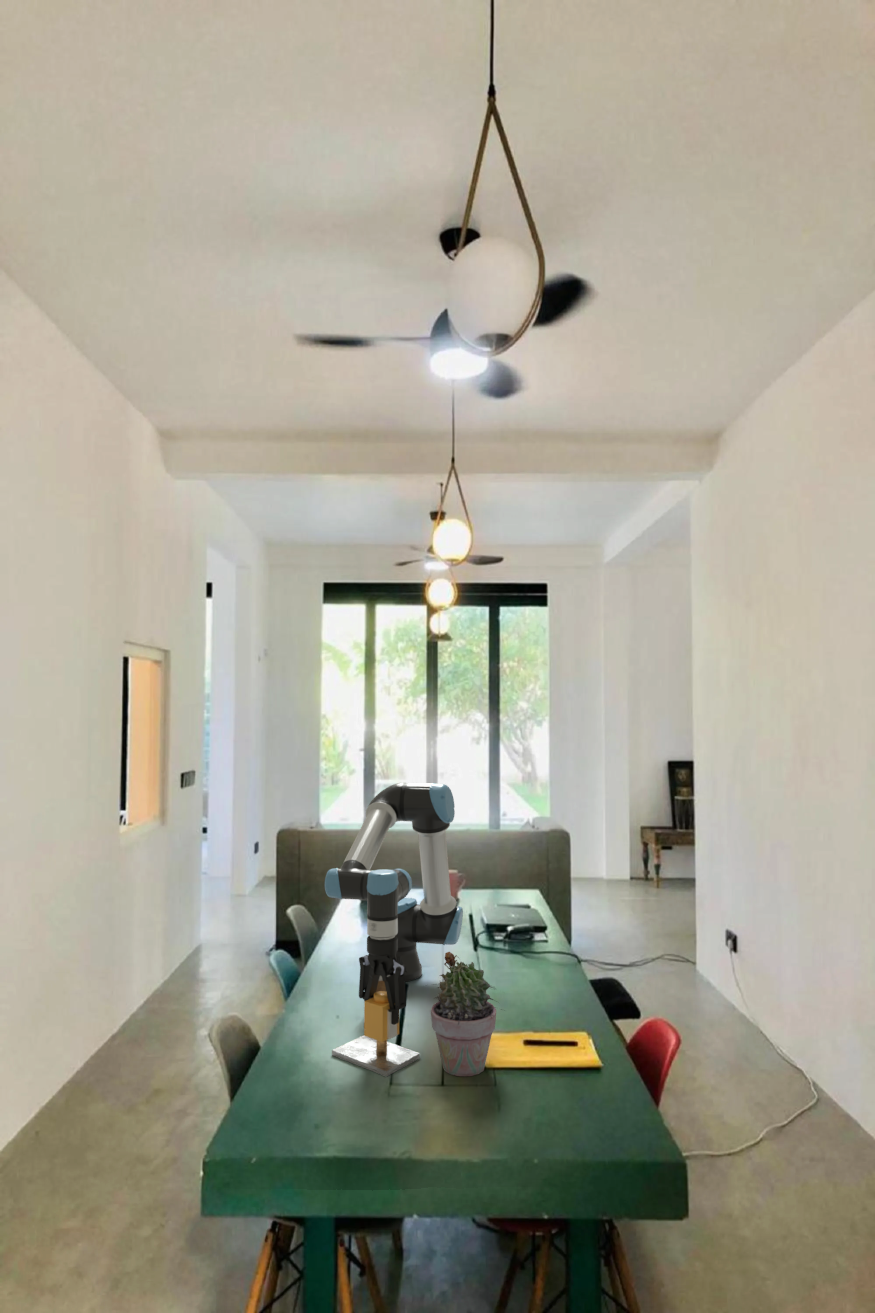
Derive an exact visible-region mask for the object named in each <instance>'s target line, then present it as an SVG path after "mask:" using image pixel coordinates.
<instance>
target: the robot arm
mask: <svg viewBox="0 0 875 1313" xmlns="http://www.w3.org/2000/svg"><path fill="white" fill-rule="evenodd" d="M455 813H456V812H455V800H454V796H453V792H452V790H451V788H450V787H449V786H448V785H447V784H446V783H445V784H443V783H437V782H432V783H430V782H429V783H428V782H427V783H424V782H423V783H422V782H421V783H419V782H416V783H415V782H411V783H410V782H398V783H394V784H392V785H389V786H388V787H385V788H384V789H383V790H381V791H380V792H379V793H377V794H376V795H375V796H374V798H372V800H371V801H370V803H369V804H368V806H367V808H366V810H365V819H364V821H363V823H362V825H361V827H360V829H359V831H358V832H357V834H356V837H355V839H354V841H353V842H352V845H351V847H350V849H349V850H348V853H347V854H346V857H345V859H344V861H343V863H342V865H341V866H340V867H339V868H338V867H336V868H335V867H334V868H330V869H328V870H327V872H326V875H325V878H324V890H325V894H326V895H327V897H329V898H331V899H332V898H333V899H334V898H335V899H340V900H356V901H357V900H358V901H367V903H366V904H367V906H366V909H367V910H366V912H367V916H366V919H367V920H366V921H367V922H366V923H367V925H366V926H367V927H366V932H367V933H366V934H367V937H366V952H367V954H366V955H364V956H360V957H359V958H358V962H359V985H358V997H359V999H363V1001H366V1000H369V999H371V998H373V997H374V993H376V990H377V985H378V981H379V977H380V976H382V980H383V981H384V982H385V987H386V992H387V997H388V1002H389V1007H390V1009H388V1010H387V1039H388V1040H391V1039H393V1038H395V1037H397V1036H398V1035H397V1023H398V1022H399V1023H400V1010H401V1009H404V1008H406V1006H407V998H406V995H407V994H406V982H409V981H413V980H416V979H419V978H420V977H421V976H422V974H423V971H422V970H423V968H422V963H421V962H420V958H419V954H418V950H417V944H430V945H431V944H434V945H442V946H445V945H449V946H450V945H452V946H453V945H456V944H457V942H458V941H459V939H460V935H461V932H462V927H463V926H462V925H463V918H464V911H463V907H462V906H457V905H458V904H457V900H456V898H455V897H454V896H452V893H451V891H452V890H451V880H450V871H449V870H450V869H449V859H448V856H449V855H448V845H447V833H446V832H447V830H448V829H449V828H450V825H451V823H453V821H454V819H455ZM397 822H410V823H411V825H412V829H413V831H414V832H415V833H416V834H417V835H418V848H419V860H420V868H421V869H420V870H421V882H422V890H423V892H422V893H423V898H422V899H421V901H420V903H419V904H418V901H417V899H416V898H412V897H407V896H408V895H409V893H410V892H411V890H412V887H413V880H412V877H411V874H409V872H408V871H406V870H405V869H403V868H394V869H385V868H384V869H382V868H381V869H379V868H378V869H374V870H372V869H371V868H372V866H373V865H374V862H375V860H376V857H377V855H378V853H379V851H380V850H381V847H382V845H383V843H384V840H385V838H386V837H387V833H388V832H389V830H390V829H392V828H393V827H394V826H395V825H396V823H397ZM370 966H371V968H370ZM388 975H390V976H388ZM387 976H388V977H387ZM394 1003H395V1004H394Z"/></svg>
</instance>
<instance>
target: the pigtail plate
mask: <svg viewBox="0 0 875 1313" xmlns="http://www.w3.org/2000/svg"><path fill="white" fill-rule="evenodd" d="M331 1055H332V1057H333V1056H334V1057H336V1058H338V1059H341V1060H343V1061H346V1062H349V1063H351V1064H354V1065H355V1066H358V1067H360V1068H363V1069H366V1070H368V1071H371V1072H374V1073H376V1074H378V1075H381V1076H382V1077H385V1078H386V1077H388V1076H390V1075H392V1074H394V1073H396V1072H398V1071H399V1070H401V1069H403V1068H405V1067H407V1066H408V1065H411V1064H412V1063H414V1062H416V1061H417V1060H420V1059H421V1057H420V1056H421V1053H420V1052H417V1051H415V1050H412V1049H410V1048H409V1049H408V1048H406V1047H405V1046H404V1047H403V1046H401V1045H398V1044H395V1043H392V1042H390V1041H388V1040H386V1041H384V1042H381V1041H378V1040H375V1039H373V1038H370V1037H367V1036H364V1034H363V1035H361V1036H359V1037H357V1038H354V1039H353V1040H350V1041H348V1042H346V1043H344V1044H342V1045H340V1046H337V1047H335V1048H333V1049H332V1050H331Z"/></svg>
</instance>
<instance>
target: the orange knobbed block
mask: <svg viewBox="0 0 875 1313" xmlns="http://www.w3.org/2000/svg"><path fill="white" fill-rule="evenodd" d="M363 1001H364V1000H363ZM363 1003H364V1005H363V1006H364V1007H363V1008H364V1010H363V1011H364V1012H363V1013H364V1015H363V1016H364V1017H363V1018H364V1019H363V1020H364V1023H363V1028H364V1029H363V1035H364V1036H367V1037H370V1038H373V1039H375V1040H378V1041H381V1042H384V1041H386V1040H387V1041H388V1040H389V1039H387V1010H388V1009H390V1007H389V1002H388V997H387V992H386V991H379V992H376V993H374V997H373V998H371V999H369V1000H366V1001H364V1002H363ZM394 1004H395V1003H394ZM398 1035H400V1021H399V1022H398V1023H397V1036H398Z"/></svg>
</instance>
